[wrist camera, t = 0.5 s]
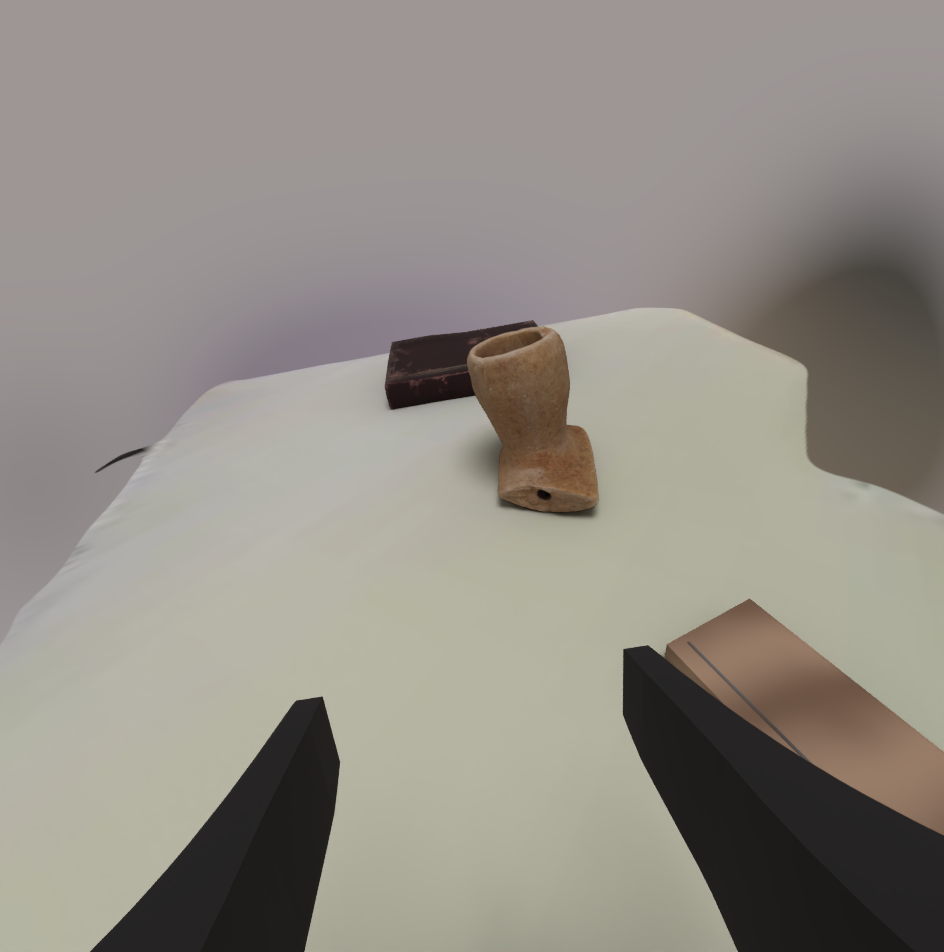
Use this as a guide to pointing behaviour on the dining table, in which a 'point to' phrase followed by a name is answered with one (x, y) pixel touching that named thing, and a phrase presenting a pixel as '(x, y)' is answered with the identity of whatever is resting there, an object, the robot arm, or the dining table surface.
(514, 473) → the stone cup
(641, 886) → the dining table surface
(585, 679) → the dining table surface
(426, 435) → the dining table surface
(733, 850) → the robot arm
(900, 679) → the dining table surface
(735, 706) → the board
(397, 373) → the diary
